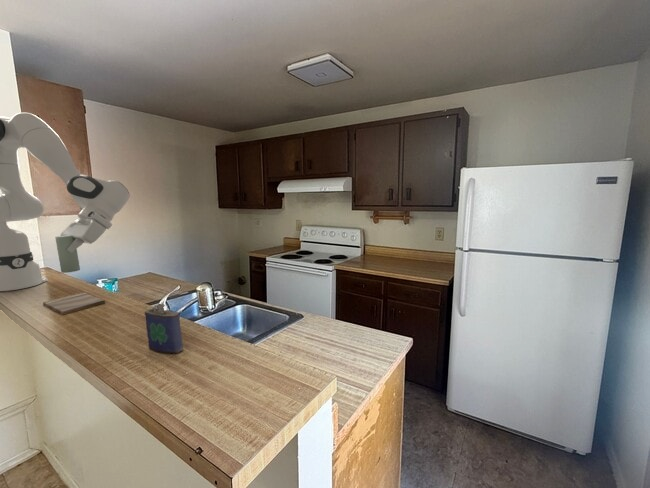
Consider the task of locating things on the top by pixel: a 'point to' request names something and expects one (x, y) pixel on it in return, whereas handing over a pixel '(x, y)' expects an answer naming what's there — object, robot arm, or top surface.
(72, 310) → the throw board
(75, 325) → the top surface
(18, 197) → the robot arm
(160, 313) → the flask
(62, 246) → the green rectangular block
